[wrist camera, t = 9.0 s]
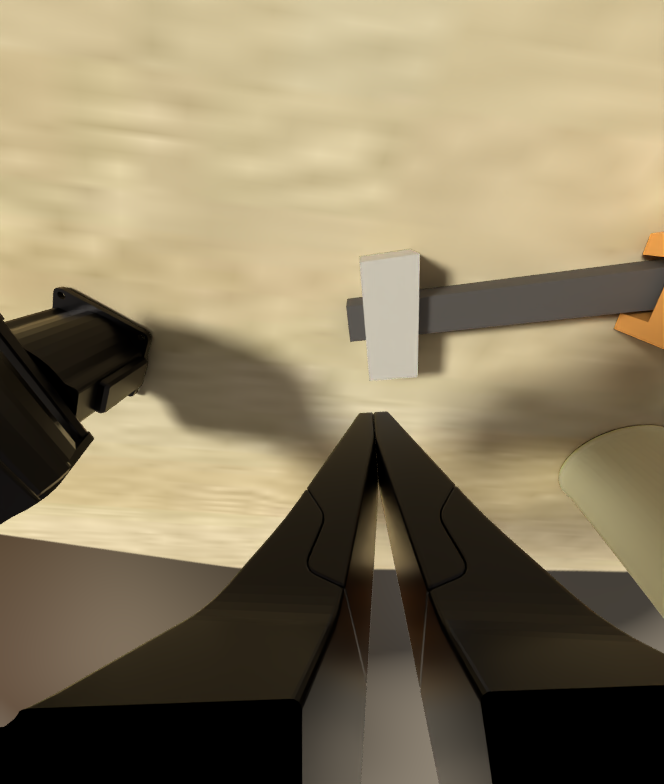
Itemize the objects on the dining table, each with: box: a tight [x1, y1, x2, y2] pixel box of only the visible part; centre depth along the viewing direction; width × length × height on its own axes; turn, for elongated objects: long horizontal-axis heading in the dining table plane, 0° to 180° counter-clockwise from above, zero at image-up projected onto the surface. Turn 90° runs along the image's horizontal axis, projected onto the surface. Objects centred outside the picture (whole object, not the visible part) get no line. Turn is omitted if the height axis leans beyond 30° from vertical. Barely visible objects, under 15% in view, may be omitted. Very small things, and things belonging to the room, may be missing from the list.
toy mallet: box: [346, 249, 664, 381], centre depth 15 cm, size 26×7×5 cm, turn 98°
